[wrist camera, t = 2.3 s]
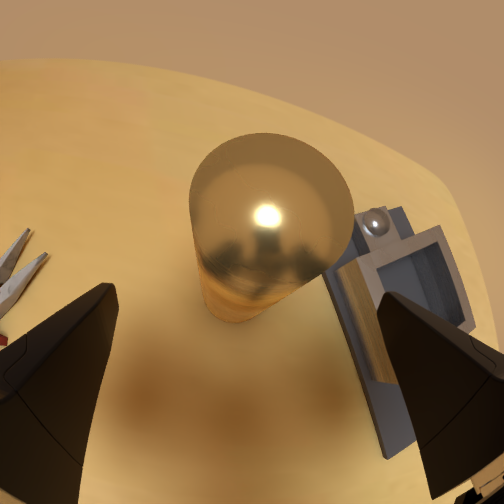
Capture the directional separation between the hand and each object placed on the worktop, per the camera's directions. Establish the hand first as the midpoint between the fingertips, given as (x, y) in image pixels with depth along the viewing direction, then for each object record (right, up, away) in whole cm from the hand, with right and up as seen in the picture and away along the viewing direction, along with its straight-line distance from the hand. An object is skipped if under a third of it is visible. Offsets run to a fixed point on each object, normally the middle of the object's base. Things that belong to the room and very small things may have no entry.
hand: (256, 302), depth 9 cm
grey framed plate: (+11, -4, +10) cm, 15 cm away
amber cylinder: (-1, -1, +10) cm, 10 cm away
